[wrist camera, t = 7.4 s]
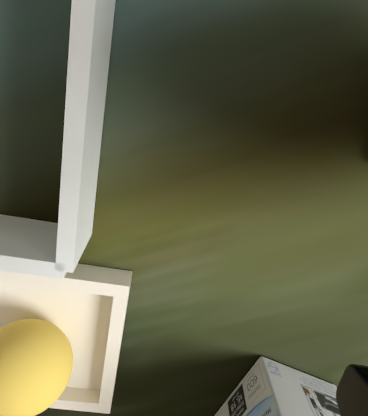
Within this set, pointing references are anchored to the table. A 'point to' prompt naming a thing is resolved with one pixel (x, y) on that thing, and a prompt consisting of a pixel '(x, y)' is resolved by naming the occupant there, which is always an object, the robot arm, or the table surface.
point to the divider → (70, 154)
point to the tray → (76, 325)
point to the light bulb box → (280, 393)
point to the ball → (32, 366)
